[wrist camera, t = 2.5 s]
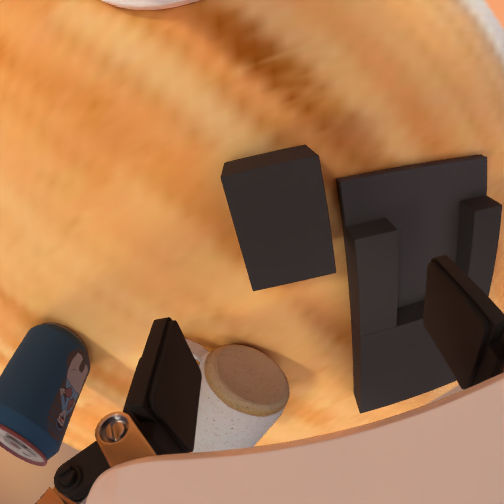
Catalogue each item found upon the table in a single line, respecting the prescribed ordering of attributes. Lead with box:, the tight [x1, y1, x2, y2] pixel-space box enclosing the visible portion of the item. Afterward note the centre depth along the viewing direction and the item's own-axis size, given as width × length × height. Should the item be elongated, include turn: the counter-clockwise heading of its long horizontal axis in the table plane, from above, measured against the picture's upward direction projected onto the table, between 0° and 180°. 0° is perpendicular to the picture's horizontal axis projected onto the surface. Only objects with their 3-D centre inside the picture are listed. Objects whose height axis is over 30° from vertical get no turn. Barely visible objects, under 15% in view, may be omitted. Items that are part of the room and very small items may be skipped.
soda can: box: [0, 323, 90, 466], centre depth 20 cm, size 7×7×12 cm
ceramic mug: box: [185, 338, 289, 453], centre depth 23 cm, size 11×8×8 cm
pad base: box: [336, 155, 502, 413], centre depth 23 cm, size 22×12×3 cm, turn 13°
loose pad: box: [221, 145, 336, 291], centre depth 19 cm, size 7×5×4 cm
